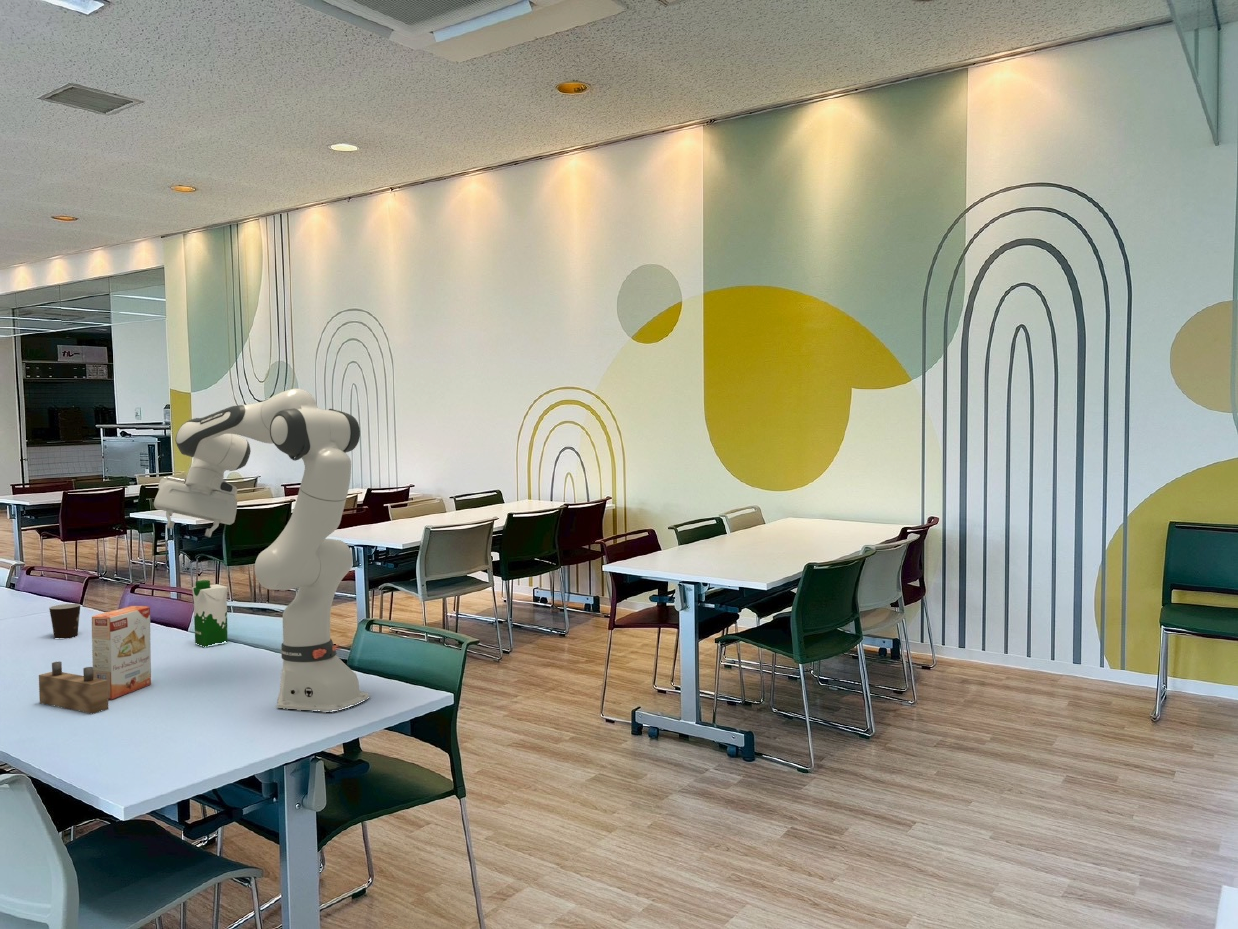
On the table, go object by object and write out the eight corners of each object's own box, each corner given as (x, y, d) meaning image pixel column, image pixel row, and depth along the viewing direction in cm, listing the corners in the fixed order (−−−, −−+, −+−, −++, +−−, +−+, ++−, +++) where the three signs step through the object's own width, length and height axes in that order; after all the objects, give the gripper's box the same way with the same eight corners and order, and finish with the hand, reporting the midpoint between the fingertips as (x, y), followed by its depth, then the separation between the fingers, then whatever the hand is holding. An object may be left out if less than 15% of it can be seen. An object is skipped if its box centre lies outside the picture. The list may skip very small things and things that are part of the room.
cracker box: (113, 700, 220) (110, 616, 220) (92, 699, 222) (89, 615, 221) (153, 684, 234) (151, 605, 233) (133, 683, 235) (131, 604, 235)
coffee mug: (70, 640, 285) (69, 609, 285) (44, 640, 285) (43, 609, 285) (92, 631, 297) (91, 601, 296) (67, 631, 297) (66, 602, 296)
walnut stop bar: (108, 709, 214) (107, 667, 213) (92, 714, 210) (90, 672, 210) (56, 698, 222) (54, 659, 222) (39, 703, 219) (38, 662, 218)
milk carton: (191, 644, 278) (189, 580, 277) (220, 639, 284) (218, 577, 283) (202, 649, 272) (200, 583, 271) (232, 643, 278) (230, 580, 277)
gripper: (161, 470, 235) (145, 520, 230) (243, 489, 243) (229, 537, 237) (161, 478, 240) (146, 526, 235) (241, 496, 248) (228, 543, 242)
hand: (188, 532), depth 236 cm, fingers open, 8 cm apart
